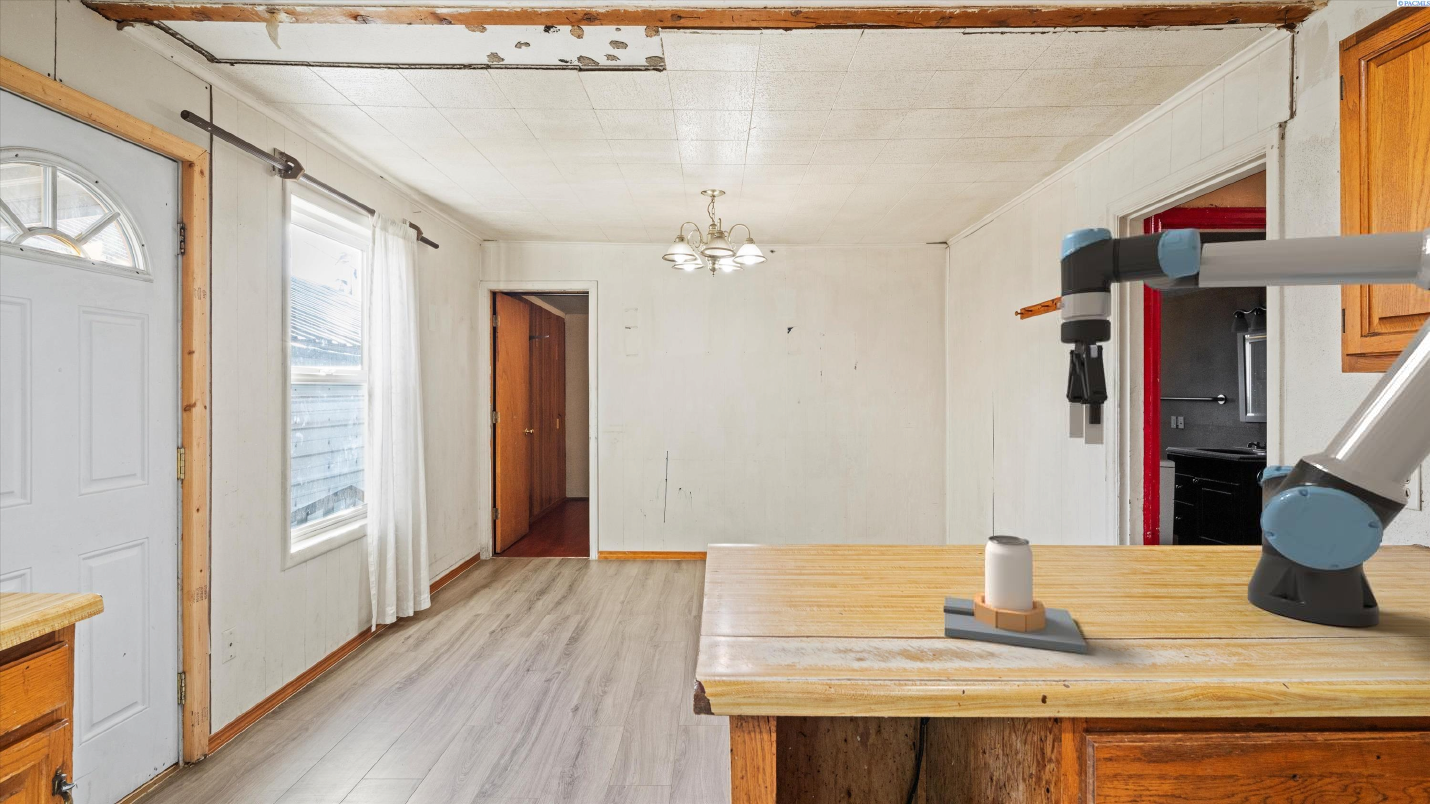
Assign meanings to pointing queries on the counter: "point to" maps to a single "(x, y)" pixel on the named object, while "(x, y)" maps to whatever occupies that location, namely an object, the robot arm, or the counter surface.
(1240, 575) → the counter surface
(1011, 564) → the can
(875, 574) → the counter surface
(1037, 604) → the board
